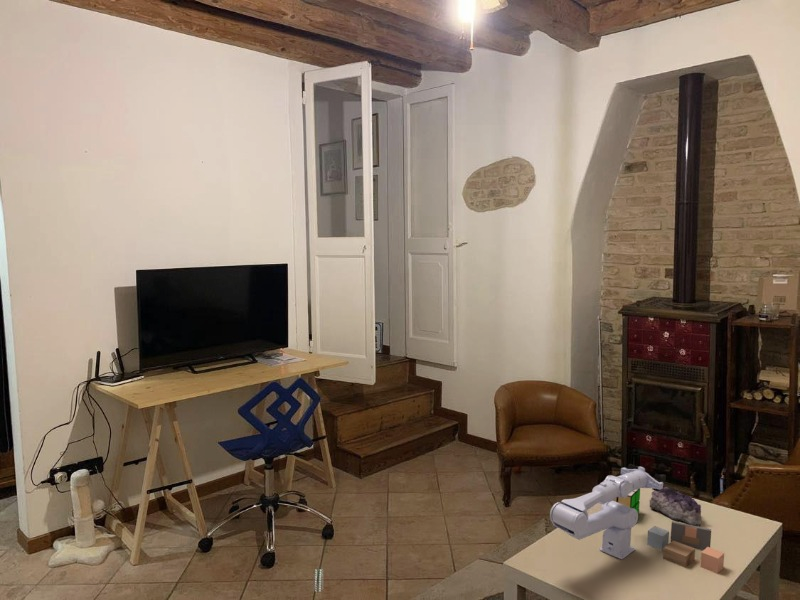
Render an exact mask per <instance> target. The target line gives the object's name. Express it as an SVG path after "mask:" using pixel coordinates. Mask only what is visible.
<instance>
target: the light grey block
mask: <svg viewBox="0 0 800 600" xmlns="http://www.w3.org/2000/svg"><path fill="white" fill-rule="evenodd" d="M669 540H670V531H669V530H666V529H664V528H661V527H658V526H656V525H654V526H652V527H651V528H650V529H648V530H647V542H646V545H647V546H650V547H653V548H655V549H657V550H660V551H664V547H665V546H667V545H668V544H669V543H670V541H669Z"/></svg>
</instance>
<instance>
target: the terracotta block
mask: <svg viewBox="0 0 800 600" xmlns="http://www.w3.org/2000/svg"><path fill="white" fill-rule="evenodd" d="M724 562H725V552H723V551H720V550H718V549H715V548H712V547H711V546H710V547H707V548H706V549H702V551H701V553H700V568H702V569H705V570H707V571H710V572H712V573H715V574H718V573H719V572H720V571H721V570H723V569H724V564H725V563H724Z"/></svg>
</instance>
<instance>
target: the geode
mask: <svg viewBox="0 0 800 600" xmlns="http://www.w3.org/2000/svg"><path fill="white" fill-rule="evenodd" d="M701 507H702V505H701V504H698V502H697V501H696V500H695V499H694V498H693V496H692V495H688V494H685V493H681V492H680V491H679V490H677V491H676V490H674V489H672V488H669V487H667V486H665V487H663V489H660V491H655V490H652V492H651V497H650V499H649V508H651V509H653V510H656V511H658V512H660V513H661V514H663V515H664V516H666V517H668V518H669V519H671V520H672V521H674V520H675V521H681V522H684V523H685V524H688V525H693V526H698V527H701V525H702V518H703V517H702V514H701V513H702V508H701Z"/></svg>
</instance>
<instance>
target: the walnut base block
mask: <svg viewBox="0 0 800 600" xmlns="http://www.w3.org/2000/svg"><path fill="white" fill-rule="evenodd" d="M695 554H696V548H695V547H690V546H687V545H684V544H682V543H679V542H676V541H674V540H673V541H672V542H669V544H668V545H667V546H665V547H664V549H663V557H662V559H663V560H666V561H668V562H670V563H672V564H675V565H677V566H681V567H683V568H687V567H688V566H689V565H690V564H691V563H692V562H693V561H695V557H696V555H695Z"/></svg>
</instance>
